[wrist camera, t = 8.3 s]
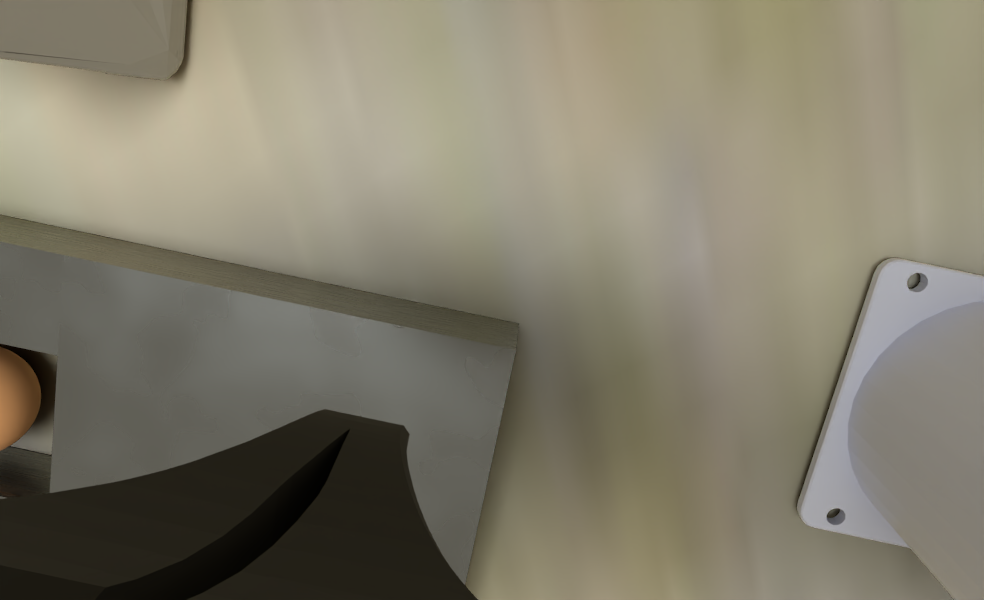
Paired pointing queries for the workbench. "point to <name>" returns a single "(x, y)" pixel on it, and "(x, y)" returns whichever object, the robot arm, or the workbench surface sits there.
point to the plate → (241, 368)
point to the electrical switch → (96, 35)
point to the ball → (16, 397)
